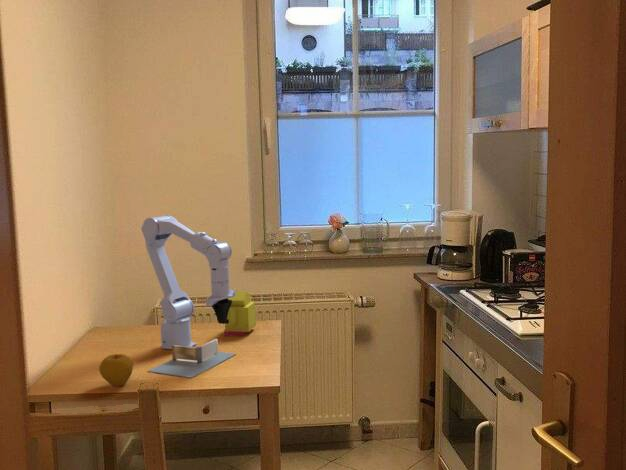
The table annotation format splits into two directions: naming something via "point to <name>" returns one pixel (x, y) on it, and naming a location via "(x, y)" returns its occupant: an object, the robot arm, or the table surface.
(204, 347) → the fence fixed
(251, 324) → the toy
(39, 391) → the table surface
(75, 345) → the table surface
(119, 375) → the apple
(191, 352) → the fence panel
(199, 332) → the table surface
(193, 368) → the mat
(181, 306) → the robot arm
